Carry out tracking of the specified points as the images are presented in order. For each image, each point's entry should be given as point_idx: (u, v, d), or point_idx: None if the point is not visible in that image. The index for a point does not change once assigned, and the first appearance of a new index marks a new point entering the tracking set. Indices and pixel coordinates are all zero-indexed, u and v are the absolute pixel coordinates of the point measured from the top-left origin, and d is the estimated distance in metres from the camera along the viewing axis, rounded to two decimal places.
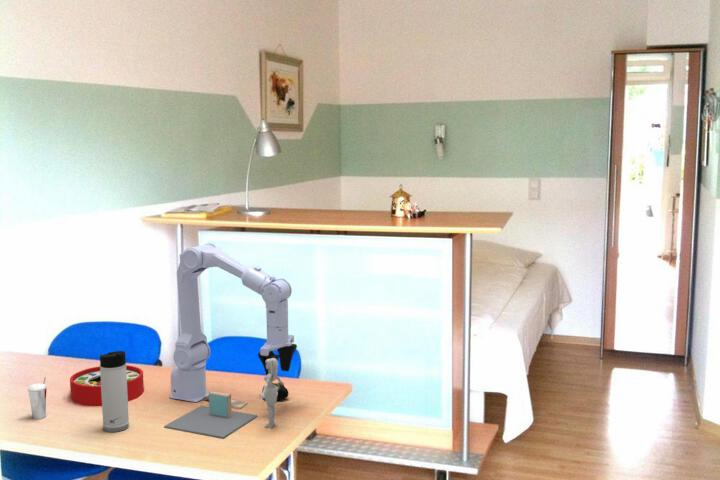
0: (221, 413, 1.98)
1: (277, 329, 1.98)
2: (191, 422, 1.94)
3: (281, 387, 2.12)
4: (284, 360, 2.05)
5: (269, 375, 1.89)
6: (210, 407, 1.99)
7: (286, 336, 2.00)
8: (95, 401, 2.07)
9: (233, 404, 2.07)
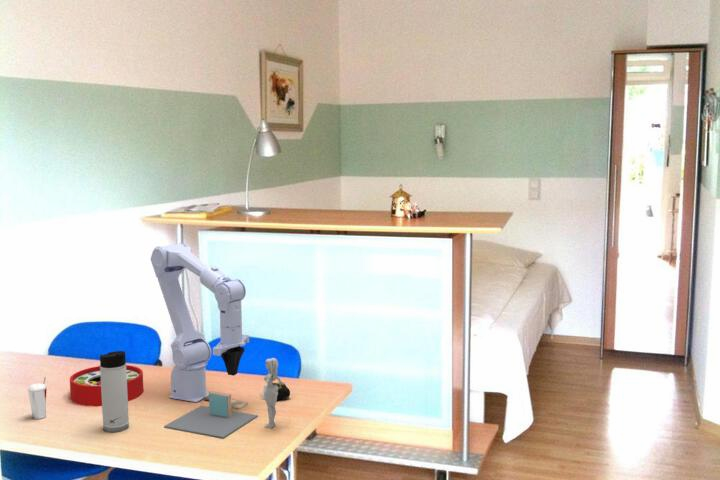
0: (221, 413, 1.98)
1: (230, 329, 1.99)
2: (191, 422, 1.94)
3: (283, 387, 2.13)
4: None
5: (269, 375, 1.89)
6: (210, 407, 1.99)
7: (239, 336, 2.01)
8: (95, 401, 2.08)
9: (233, 404, 2.07)
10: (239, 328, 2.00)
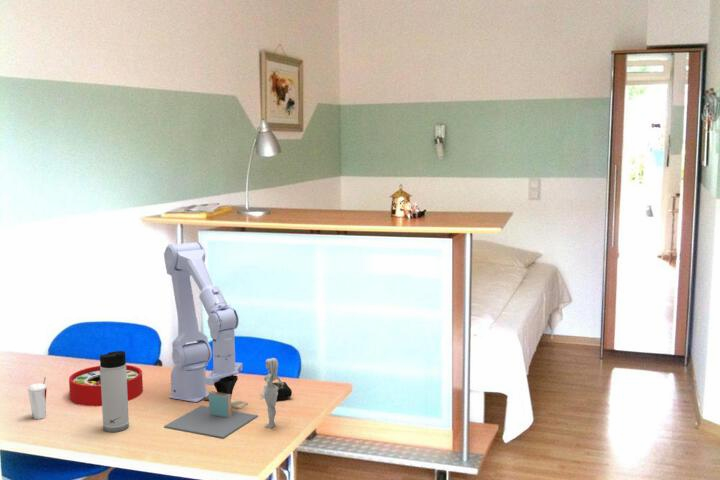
0: (221, 413, 1.98)
1: (223, 358, 1.97)
2: (191, 422, 1.94)
3: (284, 386, 2.13)
4: None
5: (269, 375, 1.89)
6: (210, 407, 1.99)
7: (232, 365, 1.98)
8: (94, 401, 2.08)
9: (233, 404, 2.07)
10: (232, 357, 1.98)
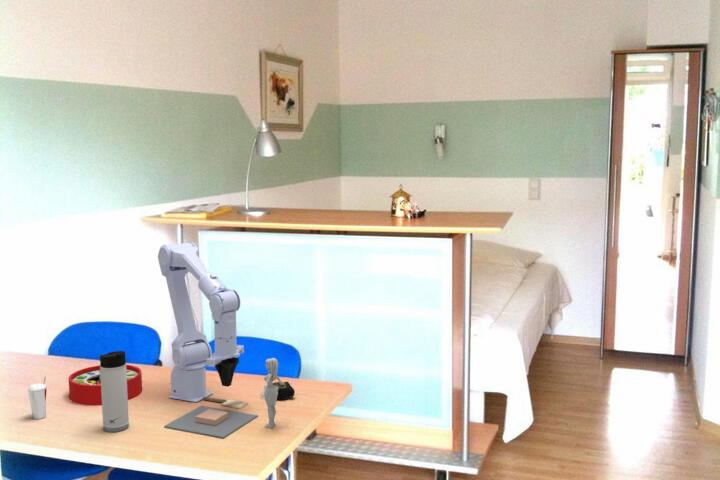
0: None
1: (224, 340, 1.97)
2: (191, 422, 1.94)
3: (287, 386, 2.13)
4: None
5: (269, 375, 1.89)
6: None
7: (234, 347, 1.99)
8: (94, 400, 2.08)
9: (233, 404, 2.07)
10: (233, 339, 1.98)
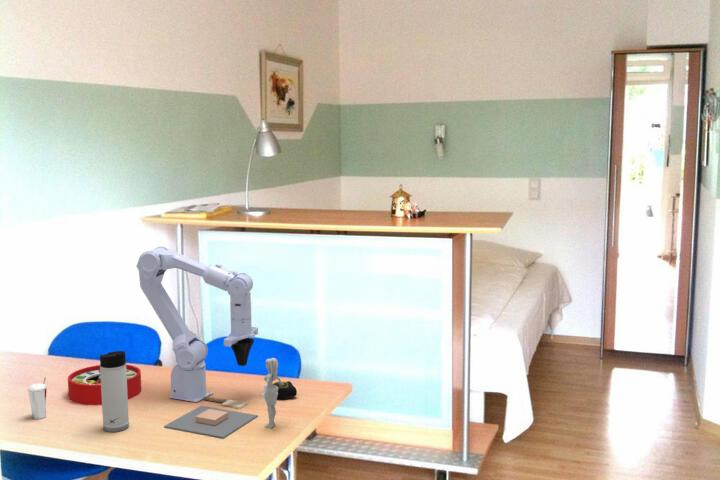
0: None
1: (240, 321, 2.07)
2: (191, 422, 1.94)
3: (289, 386, 2.14)
4: None
5: (269, 375, 1.89)
6: None
7: (249, 328, 2.09)
8: (93, 400, 2.08)
9: (233, 404, 2.07)
10: (249, 320, 2.09)
